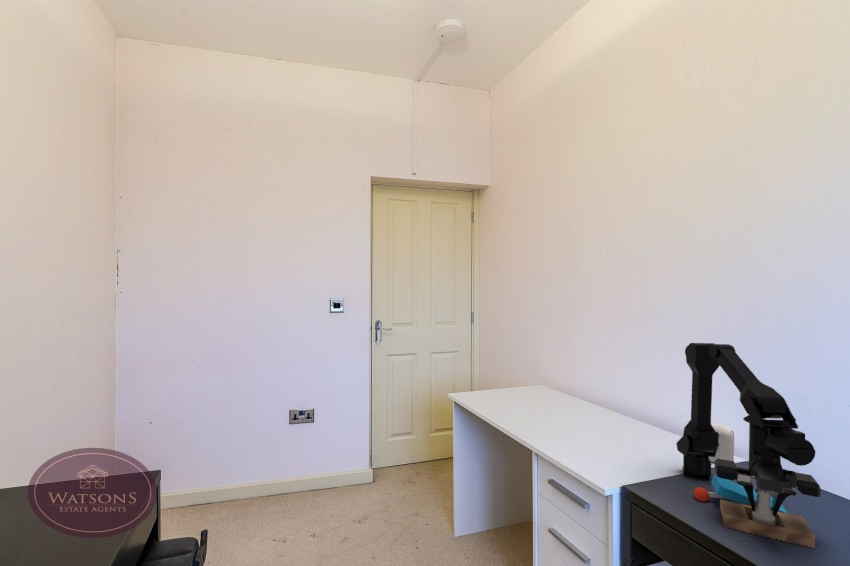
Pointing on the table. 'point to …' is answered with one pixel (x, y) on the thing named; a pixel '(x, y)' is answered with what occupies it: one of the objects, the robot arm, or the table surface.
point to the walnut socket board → (788, 528)
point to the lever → (728, 492)
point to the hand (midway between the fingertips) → (763, 512)
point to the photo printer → (724, 443)
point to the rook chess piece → (763, 507)
